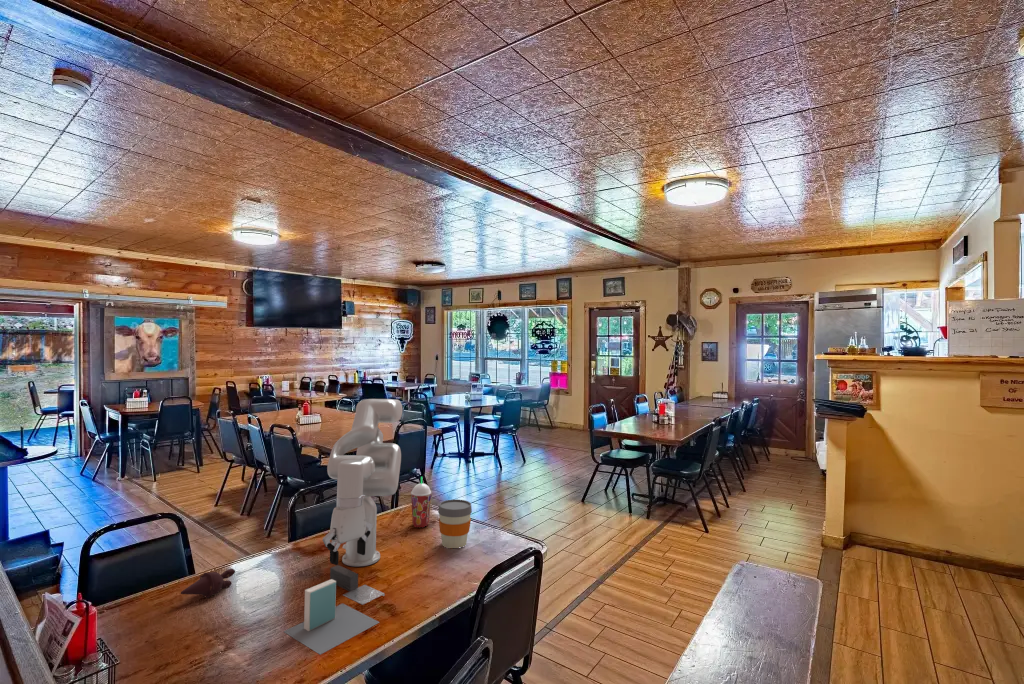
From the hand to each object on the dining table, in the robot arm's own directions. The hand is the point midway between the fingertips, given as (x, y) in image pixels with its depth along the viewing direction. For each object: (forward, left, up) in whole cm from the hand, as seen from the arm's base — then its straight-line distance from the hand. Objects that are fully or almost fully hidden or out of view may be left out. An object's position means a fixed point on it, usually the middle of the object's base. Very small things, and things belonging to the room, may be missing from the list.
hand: (347, 558), depth 155 cm
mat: (+14, -15, -10) cm, 23 cm away
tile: (+10, -16, -9) cm, 21 cm away
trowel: (+2, +1, -10) cm, 10 cm away
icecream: (-29, -27, -10) cm, 41 cm away
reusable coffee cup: (+1, +47, -10) cm, 48 cm away
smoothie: (-23, +53, -10) cm, 58 cm away
